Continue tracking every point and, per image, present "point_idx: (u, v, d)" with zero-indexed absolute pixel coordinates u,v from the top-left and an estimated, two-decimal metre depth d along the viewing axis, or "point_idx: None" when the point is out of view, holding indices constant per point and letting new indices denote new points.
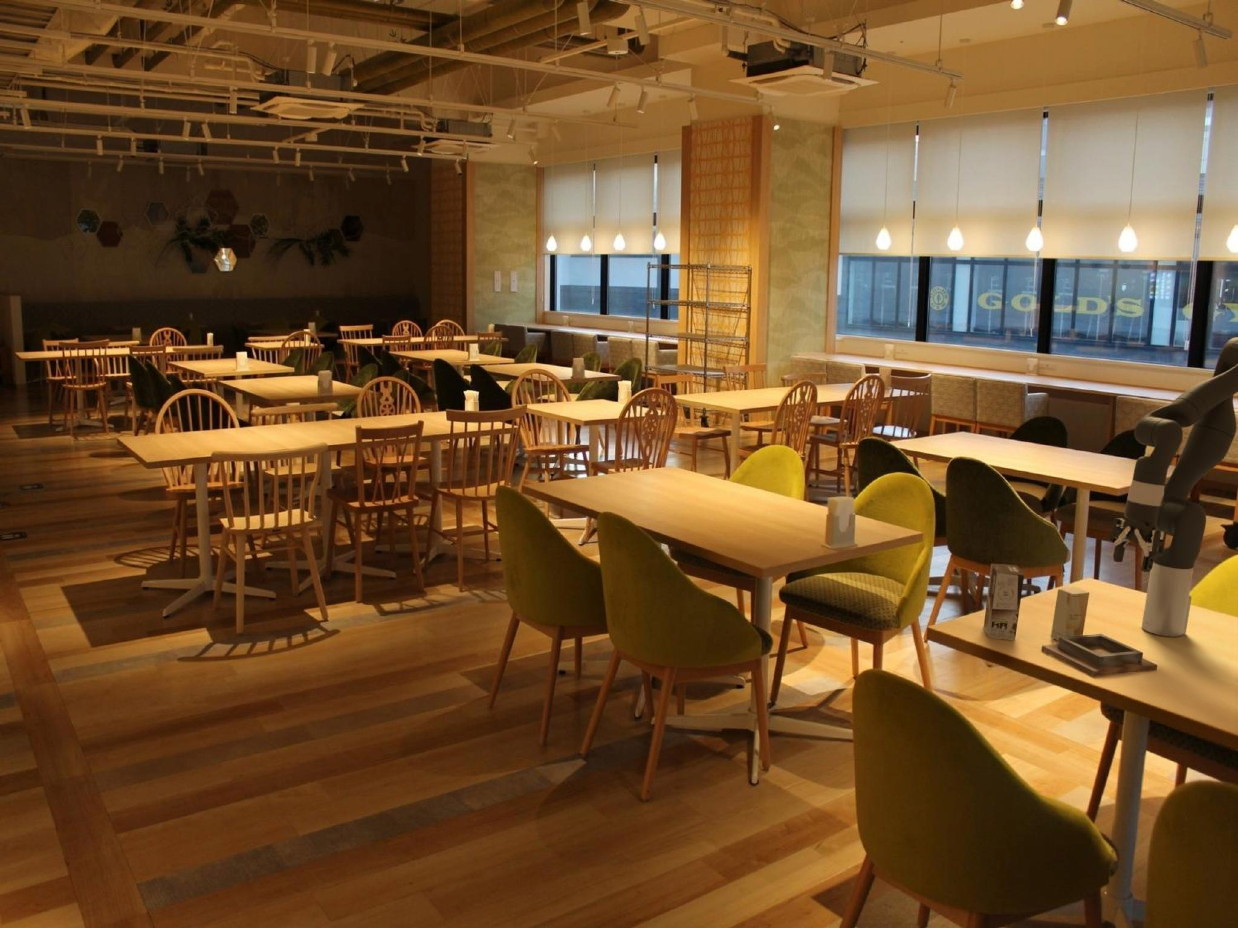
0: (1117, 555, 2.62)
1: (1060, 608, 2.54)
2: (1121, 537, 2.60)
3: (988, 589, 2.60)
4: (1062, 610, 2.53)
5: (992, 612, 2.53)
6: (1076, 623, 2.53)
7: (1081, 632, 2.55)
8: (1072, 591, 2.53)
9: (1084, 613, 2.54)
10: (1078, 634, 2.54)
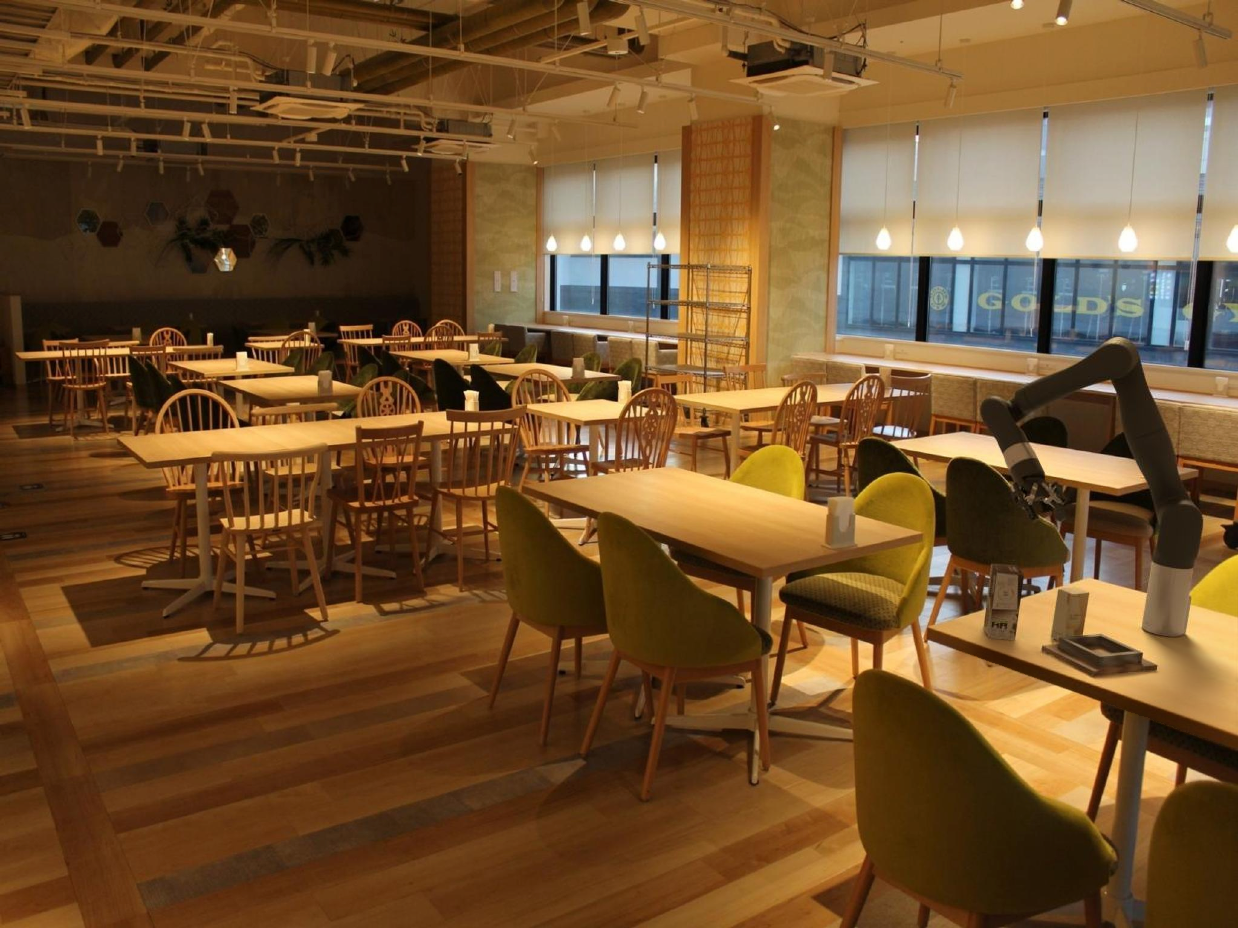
0: (1057, 515, 2.66)
1: (1060, 608, 2.54)
2: None
3: (988, 589, 2.60)
4: (1062, 610, 2.53)
5: (992, 612, 2.53)
6: (1076, 623, 2.53)
7: (1081, 632, 2.55)
8: (1072, 591, 2.53)
9: (1084, 613, 2.54)
10: (1078, 634, 2.54)
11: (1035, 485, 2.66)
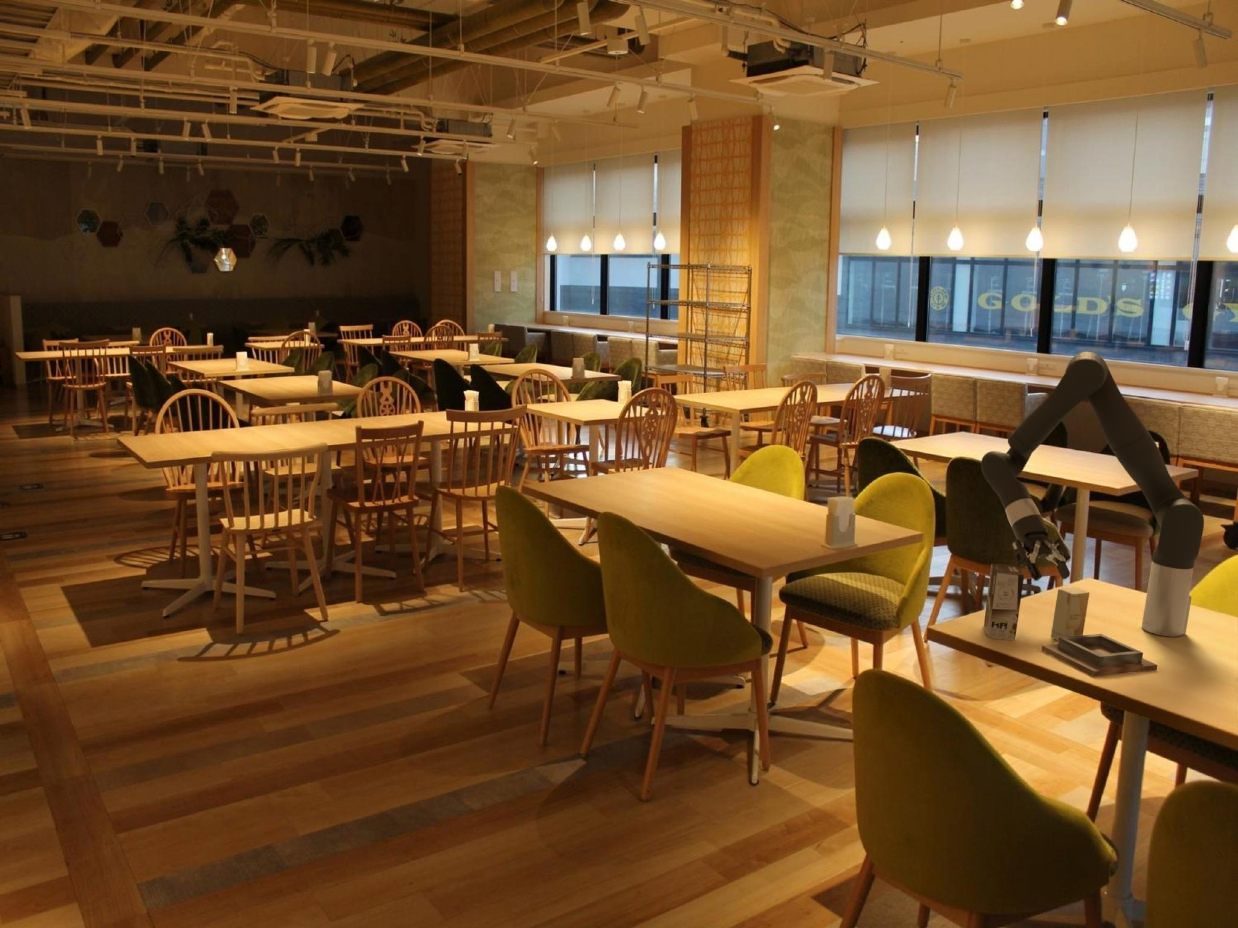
0: (1060, 573, 2.63)
1: (1060, 608, 2.54)
2: None
3: (988, 589, 2.60)
4: (1062, 610, 2.53)
5: (992, 612, 2.53)
6: (1076, 623, 2.53)
7: (1081, 632, 2.55)
8: (1072, 591, 2.53)
9: (1084, 613, 2.54)
10: (1078, 634, 2.54)
11: (1038, 543, 2.63)
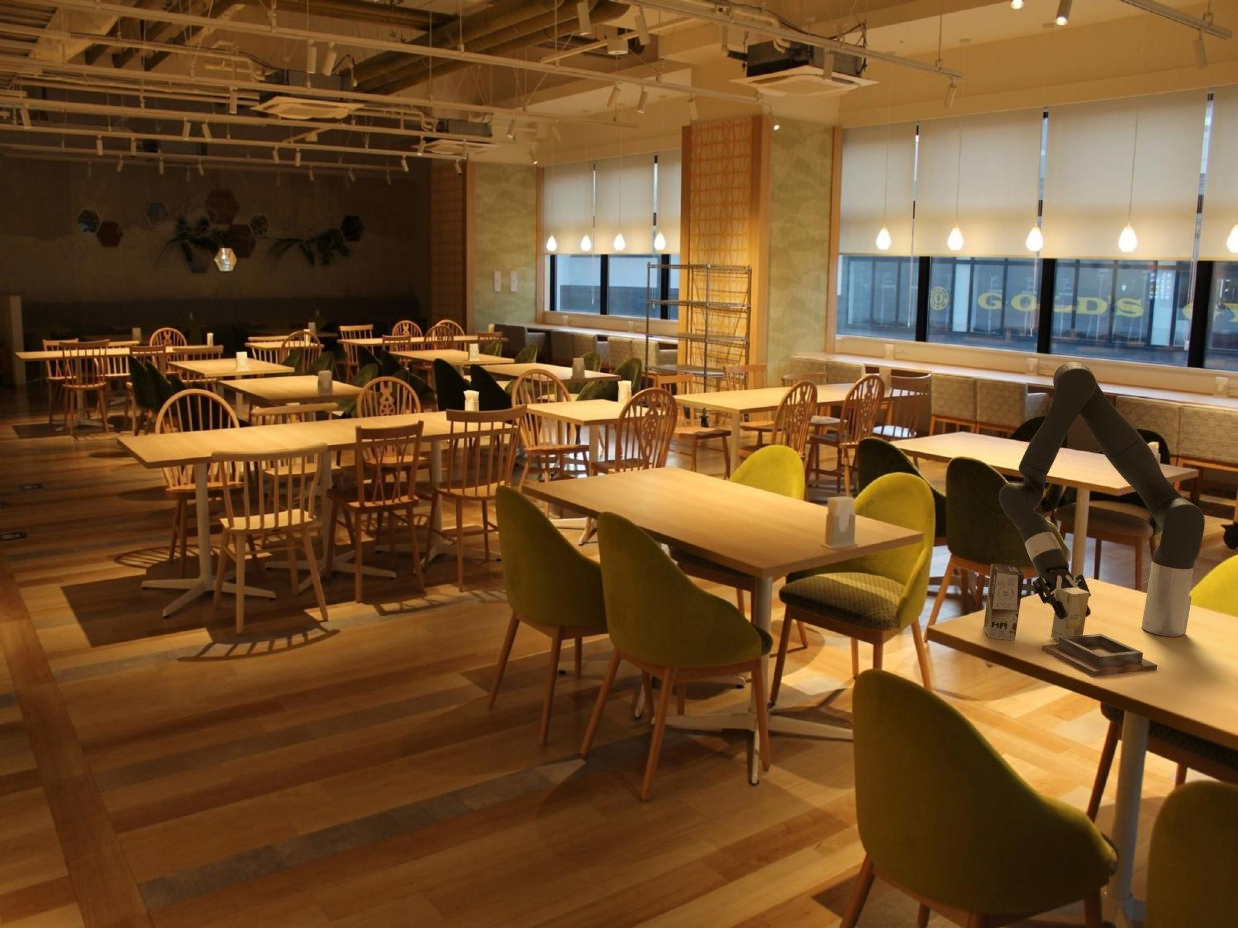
0: None
1: None
2: None
3: (988, 589, 2.60)
4: None
5: (992, 612, 2.53)
6: (1076, 623, 2.53)
7: (1081, 632, 2.55)
8: (1072, 591, 2.53)
9: (1084, 613, 2.54)
10: (1078, 634, 2.54)
11: (1059, 578, 2.56)
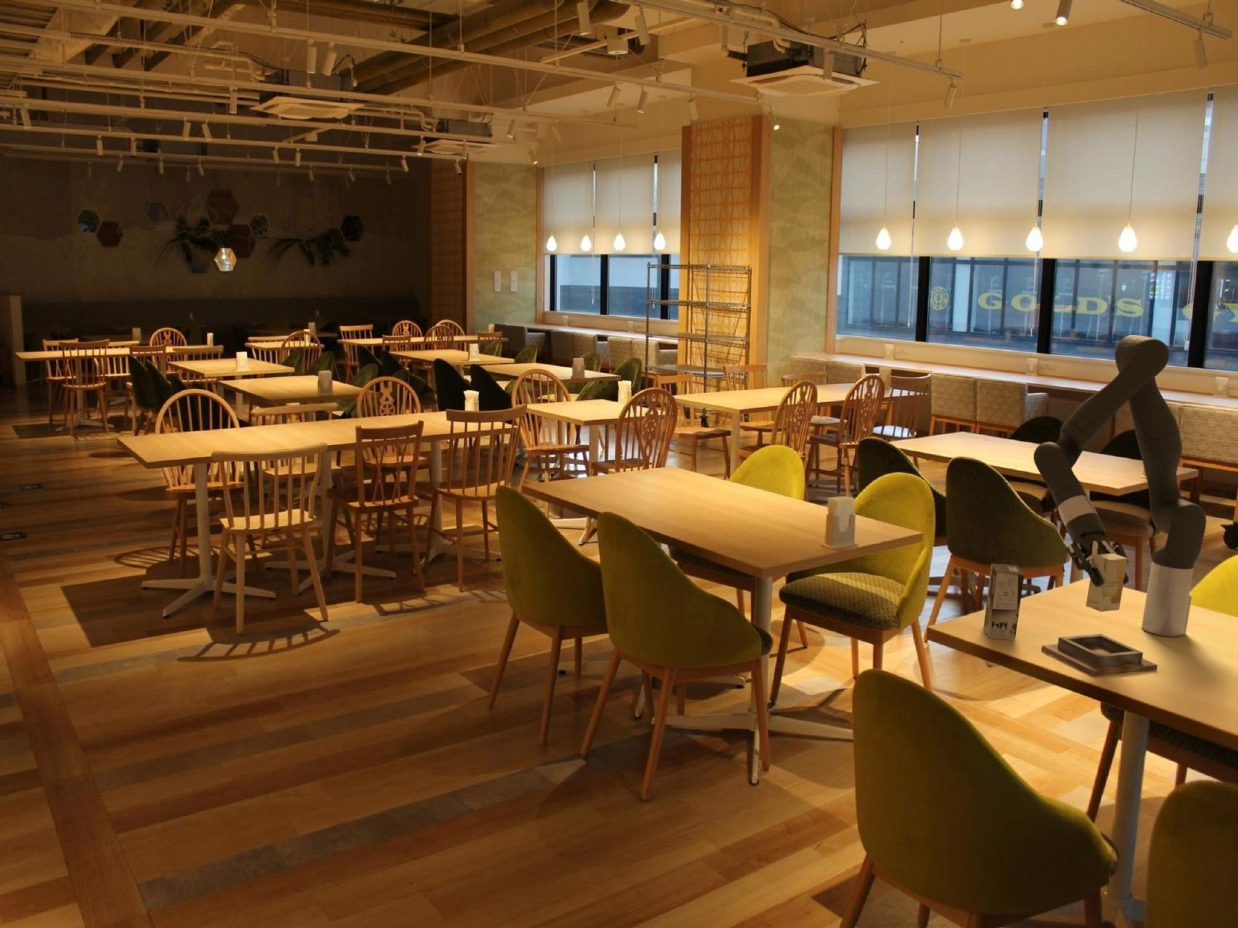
0: None
1: None
2: None
3: (988, 589, 2.60)
4: None
5: (992, 612, 2.53)
6: (1113, 591, 2.39)
7: (1118, 600, 2.40)
8: (1109, 557, 2.38)
9: (1122, 580, 2.40)
10: (1115, 603, 2.40)
11: (1095, 543, 2.42)
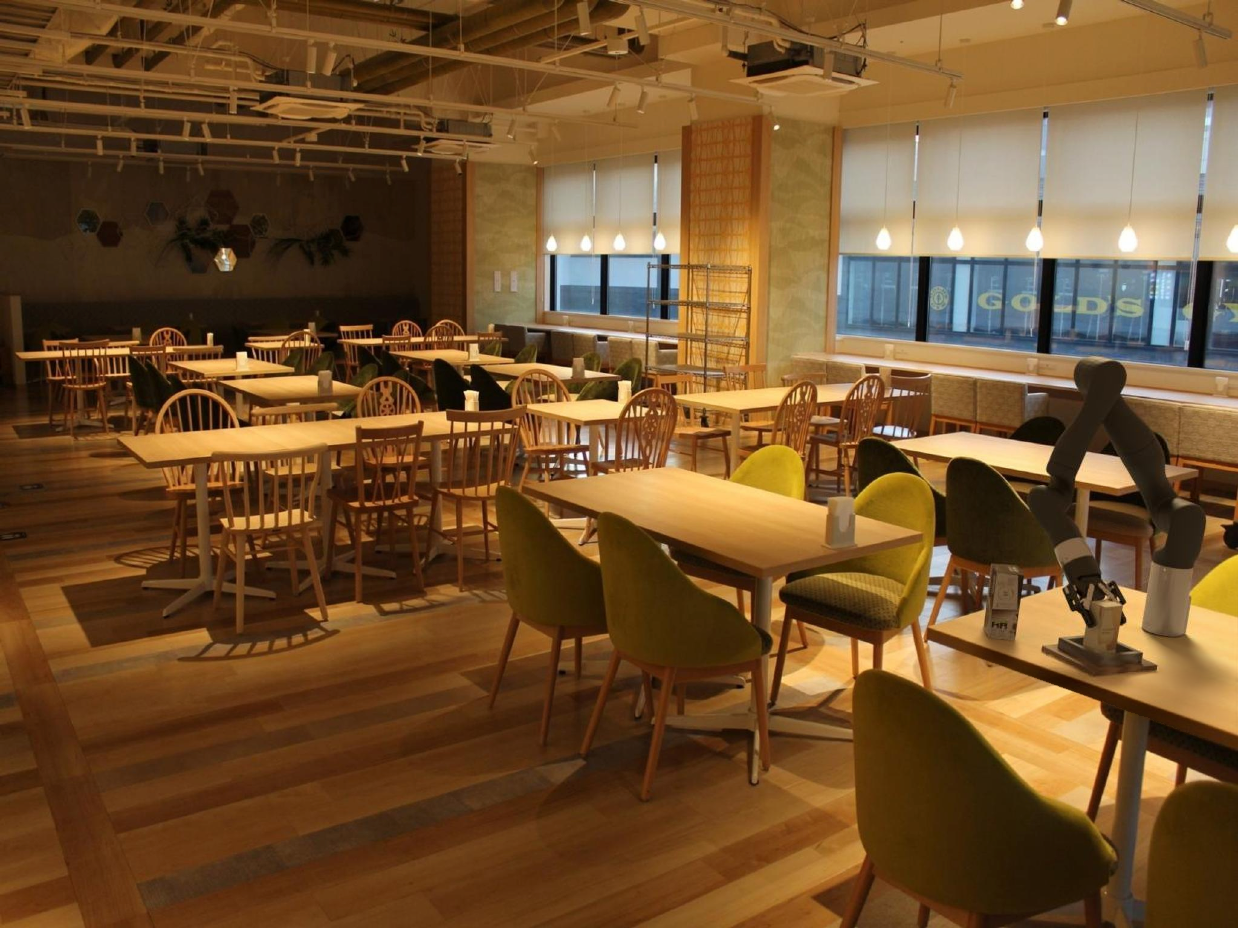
0: None
1: None
2: None
3: (988, 589, 2.60)
4: None
5: (992, 612, 2.53)
6: (1109, 637, 2.40)
7: (1114, 647, 2.42)
8: (1104, 604, 2.40)
9: (1118, 627, 2.41)
10: (1111, 649, 2.41)
11: (1091, 586, 2.43)
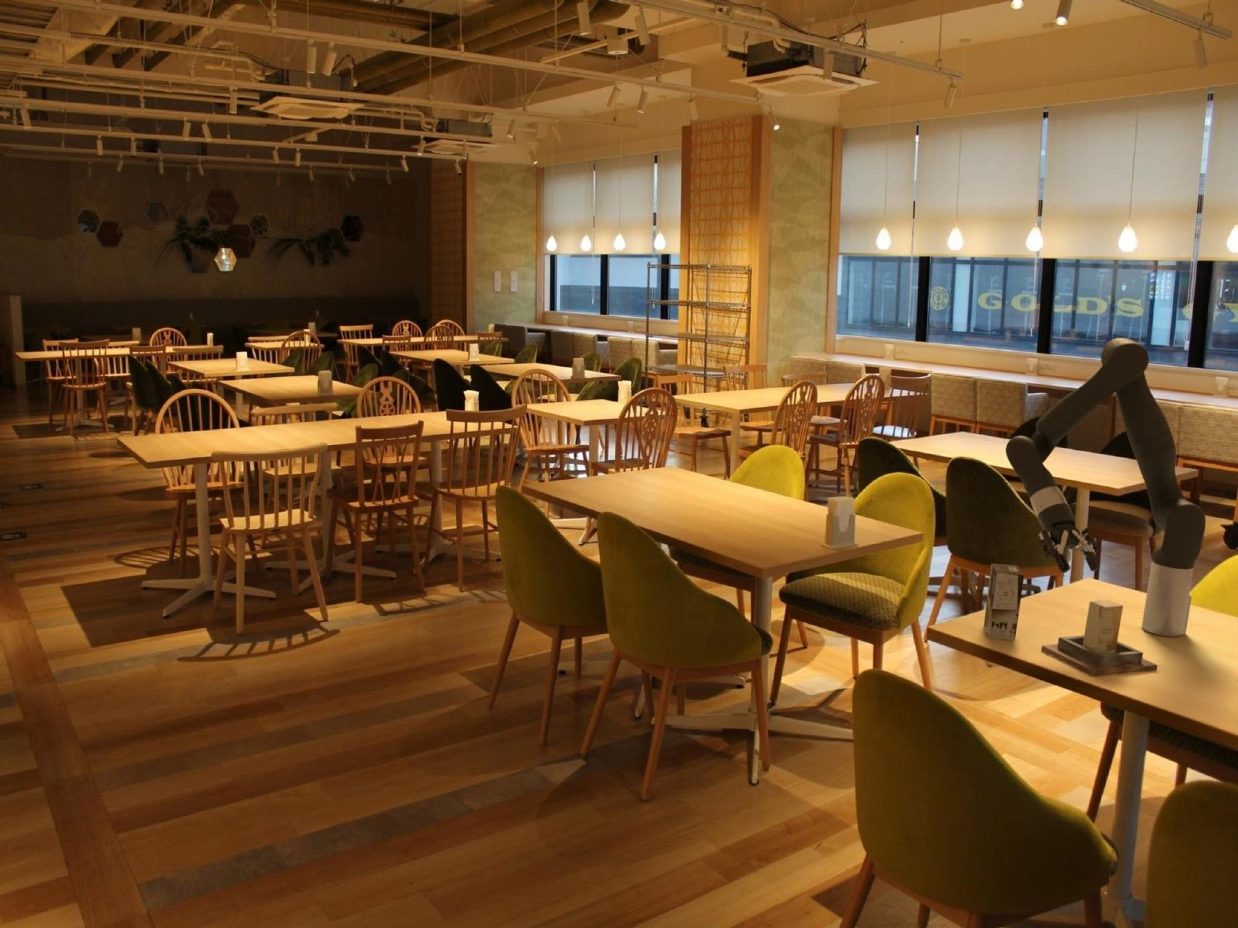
0: (1089, 565, 2.50)
1: (1092, 621, 2.41)
2: None
3: (988, 589, 2.60)
4: (1093, 623, 2.40)
5: (992, 612, 2.53)
6: (1109, 637, 2.40)
7: (1114, 647, 2.42)
8: (1105, 604, 2.40)
9: (1118, 627, 2.41)
10: (1111, 649, 2.41)
11: (1065, 533, 2.50)
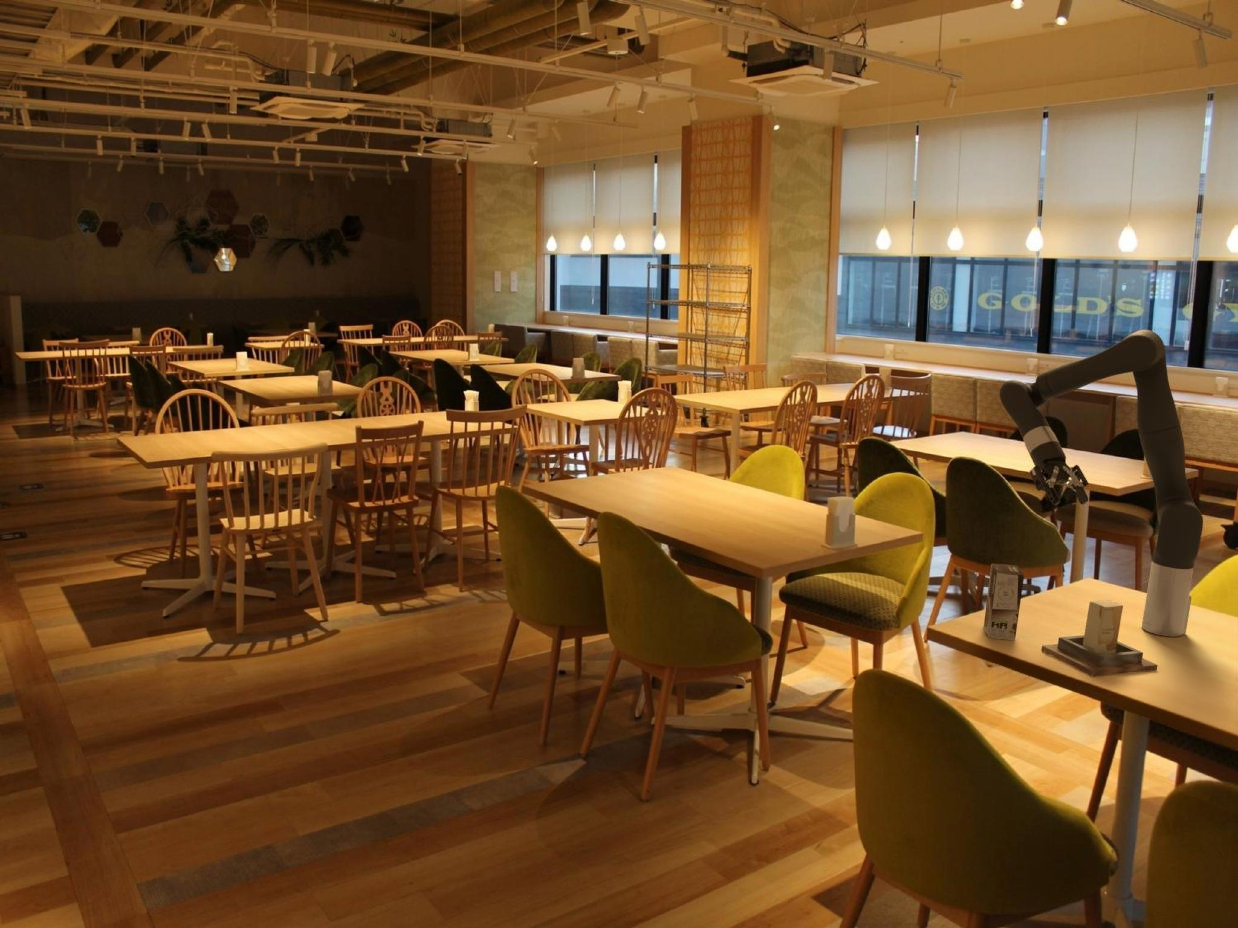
0: (1078, 498, 2.65)
1: (1092, 621, 2.41)
2: None
3: (988, 589, 2.60)
4: (1093, 623, 2.40)
5: (992, 612, 2.53)
6: (1109, 637, 2.40)
7: (1114, 647, 2.42)
8: (1105, 604, 2.40)
9: (1118, 627, 2.41)
10: (1111, 649, 2.41)
11: (1056, 468, 2.65)
